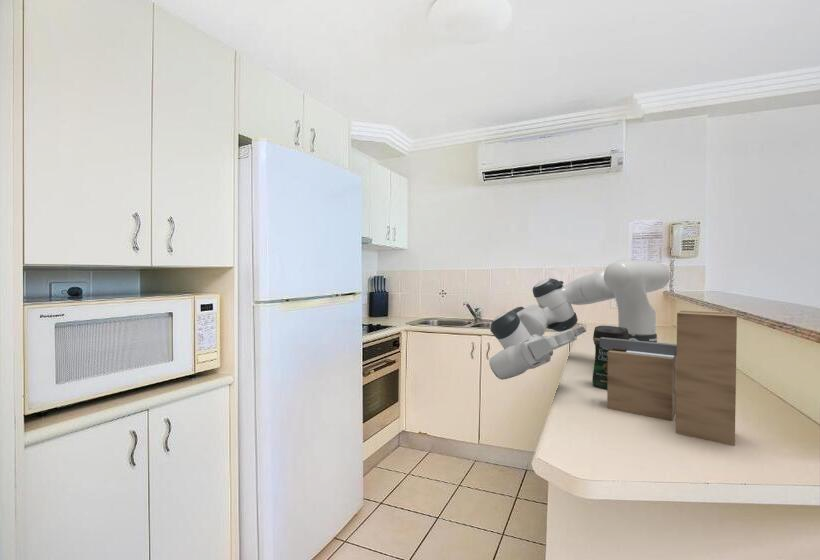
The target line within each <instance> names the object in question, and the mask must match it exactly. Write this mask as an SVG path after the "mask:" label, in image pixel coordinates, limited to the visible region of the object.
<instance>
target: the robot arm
mask: <svg viewBox="0 0 820 560" xmlns="http://www.w3.org/2000/svg"><path fill="white" fill-rule="evenodd" d="M670 280H671V273H670V270H669V268H668V267H667V266H666V265H665V264H663V263H660V262H658V261H655V260H652V259H651V260H648V259H621V260H617V261H614V262H611V263H610V264H608V265H607V266H606V267H605V269H601V270H598V271H596V272H593V273H589V274H585V275H583V276H581V277H577V278H576V279H574V280H572V281H570V282H569V283H568V284H566V285H565V283H564V281H562V280H558V279H555V278H550V277H549V278H545V279H541V280H539V281H538V282H537V283H536V284H535V285H534V286H533V287H532V293H533V298H535V300H536V303H537V304H538V305H536V304H535V305H529V306H527V307H523V306H517V307H515V308H512V310H509V311H506V312H503V313H500V314H498V315H497V316H496V317H494V319H493V320H492V321H491V323H490V332H491V334H492V335H493V336H494V338H496V340H497V341H498V342H499V343H500V345H501V346H502V348H503V349H502V350H500V351H498V352H497V353H496V354H493V356H491V357H490V358H489V367H490V369H491V371H492V373H493V374H494V375H495V377H496V378H497V379H498V380H502V381H503V380H507V379H511V378H514V377H517V376H521V375H522V374H524V373H525V372H527V371H528V370H533V369H534V370H535V369H536V368H539V367H540V366H542V365H545V364H548V363H549V362H551V359H552V356H553V355H554V350H557V349H559V348H562V347H563V346H566V345H568V344H570V343H572V342H575V341H577V340H578V336H580V335H582V334H584V333H586V332H587V329H586V328H585V326H584V325H582V326H579V327H577V328H575V329H573V327H575V326H576V325H577V323H578V315H577V314H576V312H575V311H574V310H575V309H574V308H573V305H574V306H575V305H576V306H583V305H584V306H585V305H591V304H595V303H600V302H605V301H608V300H612V299H613V300H615V302H616V306H617V311H618V312H617V315H618V317H617V318H618V327H622V328H627V329H628V334H629V340H636V341H647V342H658V336H657V335H658V334H657V333H656V309H655V308H654V307H653V306H652V304H650V301H649V298H648V295H647V293H651V292H656V291H658V290H661V289H663V288H665V287H666V286H667V285H668V284H669V282H670ZM547 329H548V330H553V331H554V332H555V331H556V332H558V333H554V334H551V335H548V336H544V335H545V333H546V331H547Z"/></svg>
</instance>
